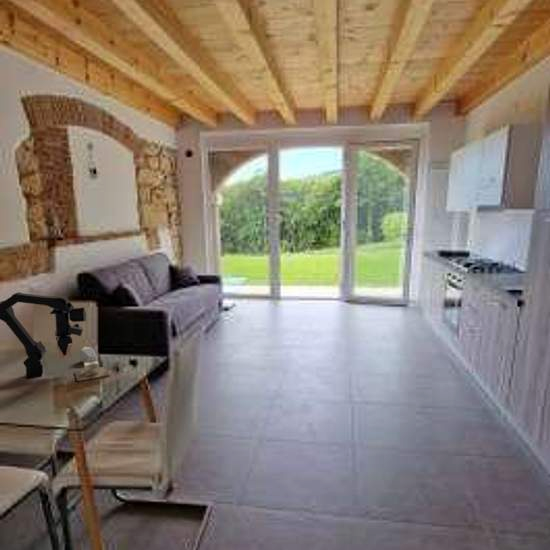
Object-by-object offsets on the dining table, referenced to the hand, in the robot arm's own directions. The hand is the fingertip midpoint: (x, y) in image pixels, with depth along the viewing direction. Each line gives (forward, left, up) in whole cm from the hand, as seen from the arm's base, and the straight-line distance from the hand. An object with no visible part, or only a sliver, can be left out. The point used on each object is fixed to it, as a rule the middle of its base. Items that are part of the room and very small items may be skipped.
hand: (64, 353), depth 199 cm
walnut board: (+11, -8, -10) cm, 17 cm away
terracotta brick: (0, 0, -1) cm, 1 cm away
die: (+11, +11, -10) cm, 18 cm away
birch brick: (+11, -8, -9) cm, 16 cm away
